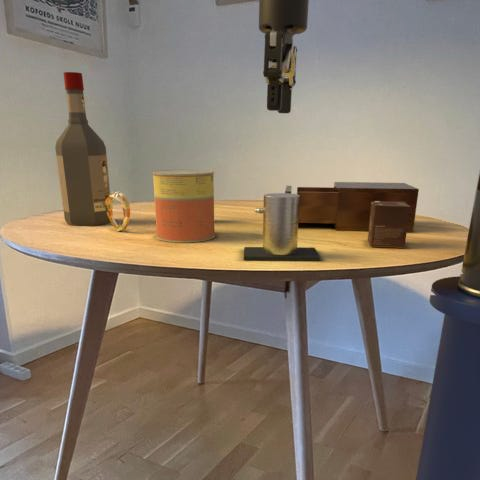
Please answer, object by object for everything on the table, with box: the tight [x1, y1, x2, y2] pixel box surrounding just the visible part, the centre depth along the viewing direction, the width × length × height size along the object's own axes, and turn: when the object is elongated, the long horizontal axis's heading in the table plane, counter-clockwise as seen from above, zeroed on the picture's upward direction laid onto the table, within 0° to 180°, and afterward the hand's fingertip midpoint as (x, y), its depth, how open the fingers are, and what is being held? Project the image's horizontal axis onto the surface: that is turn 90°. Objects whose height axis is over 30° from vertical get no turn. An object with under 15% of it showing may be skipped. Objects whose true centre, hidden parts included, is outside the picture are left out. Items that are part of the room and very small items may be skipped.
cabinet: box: [332, 181, 420, 233], centre depth 101 cm, size 16×14×9 cm
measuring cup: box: [254, 192, 300, 256], centre depth 75 cm, size 7×6×9 cm
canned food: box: [152, 169, 216, 244], centre depth 89 cm, size 11×11×12 cm
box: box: [367, 201, 410, 249], centre depth 83 cm, size 6×6×7 cm
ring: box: [105, 190, 131, 232], centre depth 94 cm, size 7×3×8 cm, turn 41°
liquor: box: [54, 71, 111, 227], centre depth 100 cm, size 9×9×30 cm
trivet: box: [243, 246, 321, 262], centre depth 76 cm, size 12×7×1 cm, turn 89°
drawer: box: [284, 185, 339, 224], centre depth 103 cm, size 18×12×7 cm
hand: (279, 111), depth 77 cm, fingers open, 8 cm apart
